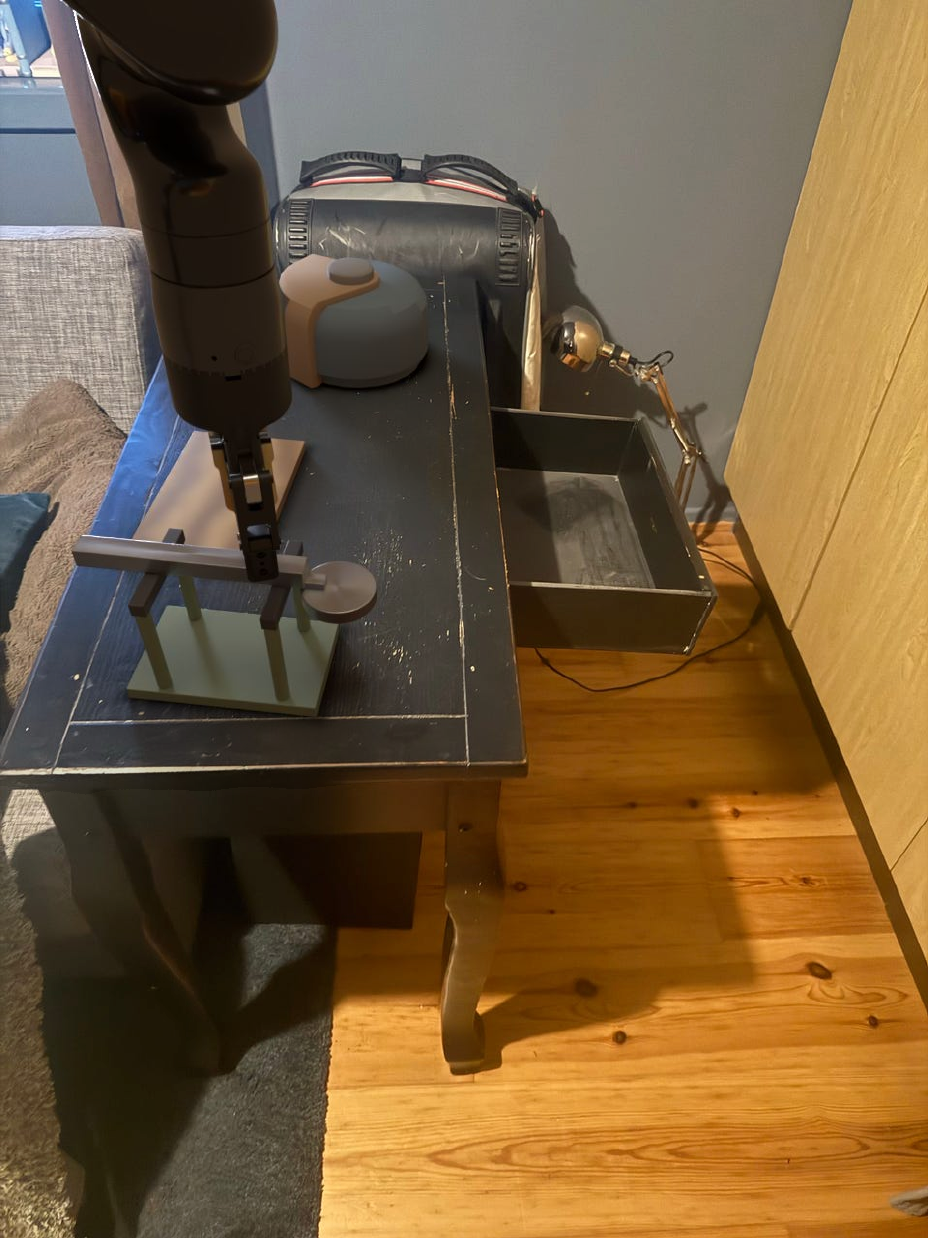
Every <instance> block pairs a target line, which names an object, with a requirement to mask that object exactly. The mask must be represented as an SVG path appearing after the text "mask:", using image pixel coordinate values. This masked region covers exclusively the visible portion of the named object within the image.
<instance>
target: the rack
mask: <svg viewBox="0 0 928 1238" xmlns="http://www.w3.org/2000/svg"><path fill="white" fill-rule="evenodd" d="M184 542H185V536H184V532H183V529H173V528H169V529H168V531H167V533H166V535H165V537H164V539H163V540H162V542H161V543H170V544H181V545H184ZM303 543H304V542H303V541H302V540H295V539H294V540H293V539H288V540H287V542H286V545H285V548H284V551H283V553H282V555H292V556H302V557H304V556H303V555H304V544H303ZM168 576H169V575H163V574H153V573H144V574H143V576H142V578H141V580H140V582H139V583H138V585H137V587H136V589H135V591H134V593H133V594H132V596H131V598H130V600H129V602H128V604H127V608H128V611H129V614H130V616H131V617H133V618H134V619H135V622H136V625H137V627H138V631H139V634H140V636H141V640H142V643H143V646H144V649H145V650H144V651H143V654H142V656H141V658H140V660H139V662H138V663H137V665H136V668H135V670H134V672H133V673H132V676H131V678H130V680H129V682H128V684H127V686H126V689H125V691H126V693H127V694H128V697H129V698H131V699H140V700H149V701H158V702H166V703H167V702H169V703H178V704H186V705H187V704H189V705H198V706H205V707H206V706H207V707H218V708H225V709H227V708H228V709H234V710H235V709H236V710H245V711H253V712H254V711H256V712H263V713H275V714H283V715H284V714H285V715H293V716H302V717H303V716H304V717H313V718H317V717H318V714H319V709H320V706H321V703H322V698H323V695H324V692H325V688H326V684H327V680H328V676H329V673H330V669H331V665H332V662H333V659H334V654H335V650H336V647H337V643H338V639H339V636H340V624H332V623H326V622H322V621H319V620H317V619H311V616H310V615H309V614H308V613H307V612H306V610H305V609H304V607H303V605H302V601H301V593H300V588H293V587H283V586H273V585H270V589H269V591H268V594H267V597H266V598H265V602H264V604H263V608H262V610H261V613H260V614H256V613H247V612H246V613H245V612H235V611H226V610H216V609H206V608H202V607H201V605H200V601H199V596H198V594H197V593H198V592H197V589H196V585H195V581H194V578H193V577H183V576H177V580H178V583H179V584H178V585H179V588H180V591H181V594H182V595H181V596H182V598H183V602H184V605H185V606H177V605H166V607H165V608H164V611H163V613H162V614H161V617H160V618H159V621H158V623H157V625H156V624H155V621H154V619H153V615H152V612H151V609H152V608H153V605H154V604H155V601H156V599H157V597H158V595H160V591H161V590H162V588H163V586H164V583H165V582H166V579H167V578H168ZM291 590H292V597H293V605H294V606H293V607H294V612H295V617H285V616H283V613H284V610H285V607H286V604H287V601H288V598H289V596H290V592H291Z"/></svg>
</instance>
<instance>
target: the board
mask: <svg viewBox="0 0 928 1238" xmlns="http://www.w3.org/2000/svg"><path fill="white" fill-rule="evenodd" d="M271 441H272V446H273V452H274V460H273V462H272V468H273V474H274V480H275V485H276V491H277V497H278V500H277V503H276V504H275V511H276V518H277V522H278V521H279V519H280V516H281V514H282V511H283V509H284V507H285V503H286V501H287V498H288V497H289V494H290V490H291V488H292V485H293V483H294V481H295V478H296V475H297V473H298V470H299V468H300V466H301V462H302V460H303V458H304V455H305V452H306V450H307V449H306V441H304V440H293V439H284V438H283V439H282V438H273V437H271ZM174 463H175V464H174V465H173V467H172V469H171V470H170V472H169V474H168V476H167V478H166V479H165V481H164V483H162V486H161V488H160V489H159V491H158V493H157V495H156V496H155V498H154V500H153V501H152V503H151V505H150V507H149V508H148V510H147V511H146V514H145V515H144V517H143V519H142V520H141V523H140V524H139V526H138V527H137V529H136V531H135V533H134V535H133V536H132V538H131V540H140V541H150V542H160V543H161V542H162V540H163V539H164V537H165V535H166V533H167V531H168V529H169V528H173V529H183V532H184V536H185V542H184V545H191V546H201V547H211V548H221V549H231V550H240V548H239V543H240V540H239V541H238V540H237V534H236V533H238V528H237V522H236V517H235V513H234V512H233V511H230V510H228V509H227V507H226V505H225V499H224V494H223V489H222V483H221V478H220V473H219V470H218V469H217V468H216V467H215V466H214V461H213V456H212V451H211V445H210V441H209V436H208V431H198V430H194V431H193V432H192V434H191V436H190V438H189V439H188V441H187V443H186V444H185V446H184V448H183V450H182V451H181V453H180V455H179V456H178V458H177V460H176V462H174ZM263 470H264V468H263ZM241 551H242V550H241Z"/></svg>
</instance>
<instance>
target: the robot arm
mask: <svg viewBox="0 0 928 1238" xmlns="http://www.w3.org/2000/svg"><path fill="white" fill-rule="evenodd" d="M60 1H61V2H62V3H64V4H65V5H66V6H67V7H68V8H70V9H71V11H73V12H74V16H75V21H76V22H75V23H76V26H77V30H78V34H79V38H80V42H81V45H82V49H83V52H84V55H85V57H86V61H87V64H88V67H89V70H90V73H91V76H92V79H93V82H94V84H95V87H96V90H97V92H98V96H99V98H100V101H101V103H102V106H103V109H104V112H105V114H106V117H107V119H108V123H109V125H110V128H111V131H112V134H113V136H114V139H115V141H116V143H117V146H118V148H119V151H120V153H121V155H122V157H123V160H124V162H125V165H126V167H127V169H128V172H129V175H130V178H131V181H132V186H133V189H134V190H133V191H134V198H135V205H136V209H137V210H136V211H137V215H138V221H139V225H140V230H141V234H142V239H143V245H144V249H145V255H146V259H147V264H148V269H149V276H150V291H151V292H150V293H151V303H152V310H153V316H154V321H155V325H156V330H157V334H158V339H159V345H160V348H161V353H162V358H163V362H164V363H163V364H164V368H165V373H166V377H167V382H168V386H169V391H170V396H171V400H172V405H173V408H174V410H175V412H176V414H177V415H178V416H179V417H180V418H181V419H182V420H183V421H184V422H186V423H187V424H189V425H190V426H192V427H194V428H196V429H200V430H201V431H205V432H208V436H209V441H210V445H211V451H212V456H213V461H214V466H215V467H216V468H217V469H218V470H219V473H220V478H221V483H222V489H223V494H224V499H225V505H226V507H227V509H228V510H230V511H233V512H234V513H235V517H236V522H237V528H238V533H236V534H237V540H238V541H239V540H240V543H239V548H240V551H241V550H242V552H243V556H244V560H245V566H246V572H247V577H248V580H249V581H250V582H260V581H267V580H273V579H276V578H277V577H278V576H279V569H278V561H277V554H278V553H277V551H281V545H283V544H282V537H281V536H280V535H279V534H280V533H279V527H278V521H277V518H276V511H275V504H276V503H277V500H278V497H277V491H276V485H275V480H274V474H273V468H272V462H273V460H274V452H273V446H272V441H271V438H272V437H271V435H269V434H268V433H269V432H268V426H270V425H271V424H274V423H276V422H277V421H279V420H280V419H281V418H283V416H285V414H287V412H288V410H289V409H290V407H291V405H292V401H293V391H292V380H291V379H292V378H291V377H290V367H289V357H288V346H287V336H286V326H285V305H284V297H283V291H282V289H281V287H280V284H279V281H280V279H279V276H278V272H277V265H276V260H275V257H276V256H275V248H274V246H275V245H274V239H273V238H274V237H273V236H274V235H273V228H272V226H273V225H272V217H271V207H270V200H269V193H268V187H267V183H266V178H265V174H264V171H263V168H262V166H261V164H260V163H259V161H258V159H257V157H256V156H255V155H254V154H253V153H252V151H251V150H250V149H249V148H248V147H247V146H246V145H245V143H243V141H242V140H241V138H240V137H239V136H238V134H237V133H236V131H235V129H234V126H233V123H232V121H231V118H230V114H229V110H228V106H231V105H234V104H237V103H239V102H242V101H244V100H245V99H247V98H249V97H250V96H252V95H253V94H254V93H255V92H257V91H258V89H259V88H260V87H262V85H263V84H264V83H265V82H266V80H267V78H268V77H269V75H270V73H271V71H272V69H273V66H274V65H275V61H276V57H277V53H278V47H279V46H278V45H279V31H280V30H279V20H278V12H277V7H276V3H275V0H60ZM263 468H264V470H263Z"/></svg>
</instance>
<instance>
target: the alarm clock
mask: <svg viewBox="0 0 928 1238" xmlns="http://www.w3.org/2000/svg"><path fill="white" fill-rule="evenodd" d="M279 284H280V288H281V292H282V294H283V295H284V302H285V309H284V315H285V326H286V336H287V346H288V357H289V367H290V378H291V379H293V380H295V381H297V382H299V383H301V384H302V385H305V386H306V387H308V388H310V389H314V388H317V387H319V386H320V385H321V384H325V385H330V386H335V387H336V386H337V387H343V388H358V389H360V388H361V389H363V388H364V389H365V388H372V387H373V388H374V387H381V386H384V385H388V384H392V383H395V382H398V381H400V380H402V379H404V378H406V377H408V376H409V375H410V374H411V373H413V372H414V371H415V370H416V369H417V367H418V366H419V363H420V362H421V361H422V360H423V359H424V358H425V356H426V354H427V352H428V350H429V318H430V317H429V316H430V315H429V314H430V313H429V312H430V311H429V301H428V296H427V293H426V292H425V291H424V289H423V287H422V286H421V284H420V283H419V281H418V279H417V278H416V277H414V276H413V275H412V274H411V273H409V272H408V271H407V270H404V269H402V268H401V267H398V266H396V265H395V264H391V263H389V262H384V261H382V260H376V259H370V258H359V257H341V258H332V257H328V256H324V255H320V254H316V253H311V254H309V255H307V256H306V257H304V258H301V259H299V260H297V261H295V262H294V263H292V264H290V265H289V266H287V268H285V270H284V271H283V272H282V273H281V274H280V279H279Z"/></svg>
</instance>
